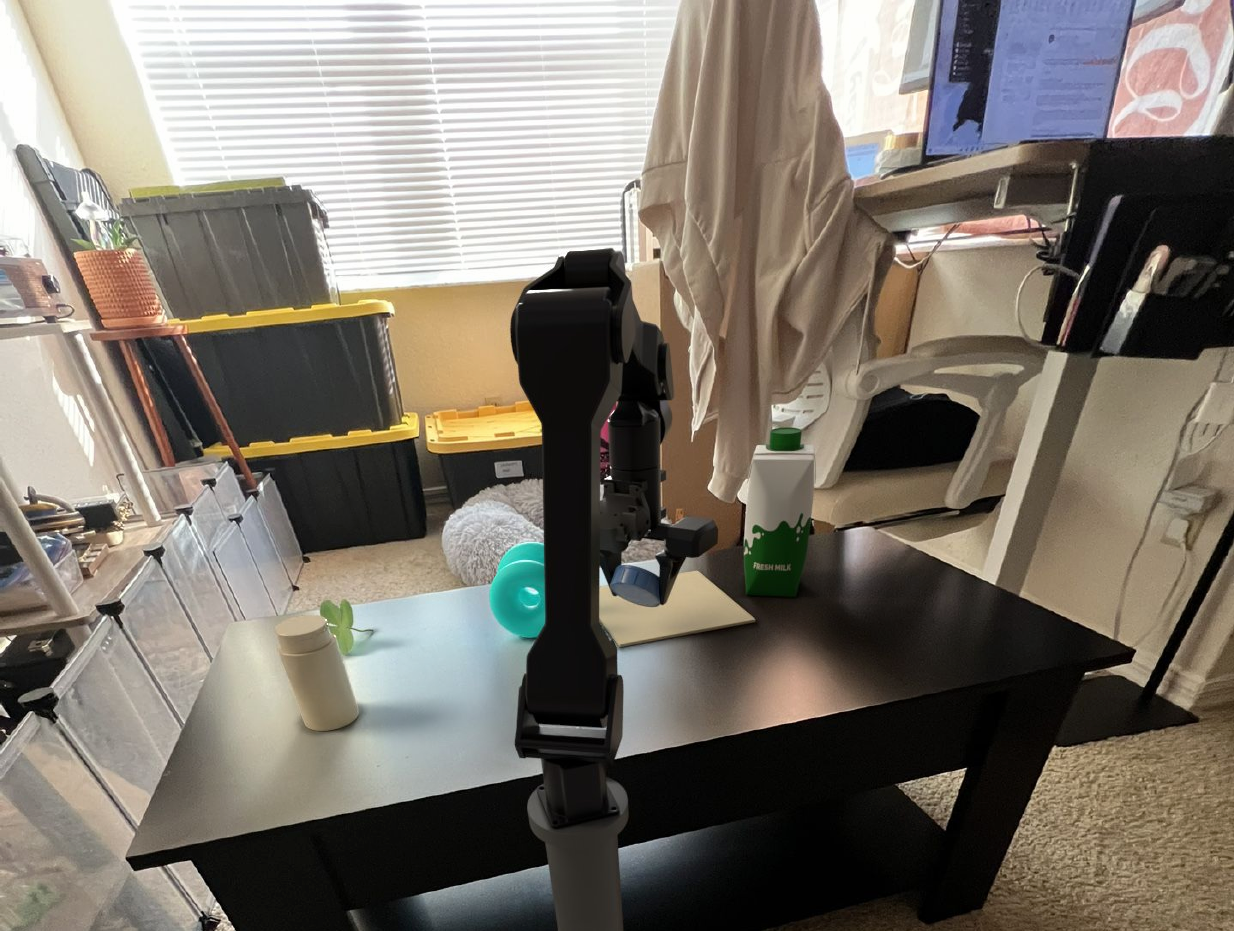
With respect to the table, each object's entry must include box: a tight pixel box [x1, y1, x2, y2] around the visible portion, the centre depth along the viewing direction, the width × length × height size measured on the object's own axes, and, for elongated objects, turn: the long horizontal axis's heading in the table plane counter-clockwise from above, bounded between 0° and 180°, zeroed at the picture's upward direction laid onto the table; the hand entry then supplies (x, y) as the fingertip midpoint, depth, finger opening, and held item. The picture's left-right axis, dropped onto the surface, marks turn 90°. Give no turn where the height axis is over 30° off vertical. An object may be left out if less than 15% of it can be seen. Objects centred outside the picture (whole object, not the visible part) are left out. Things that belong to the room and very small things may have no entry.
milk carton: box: [743, 426, 817, 598], centre depth 99 cm, size 9×9×20 cm
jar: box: [274, 614, 360, 732], centre depth 78 cm, size 6×6×11 cm
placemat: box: [599, 570, 757, 648], centre depth 101 cm, size 20×19×1 cm
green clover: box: [319, 599, 374, 656], centre depth 97 cm, size 7×8×7 cm
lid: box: [610, 564, 660, 607], centre depth 90 cm, size 7×7×2 cm
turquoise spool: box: [488, 541, 545, 639], centre depth 95 cm, size 10×10×10 cm
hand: (639, 599), depth 91 cm, fingers closed on lid, 6 cm apart
